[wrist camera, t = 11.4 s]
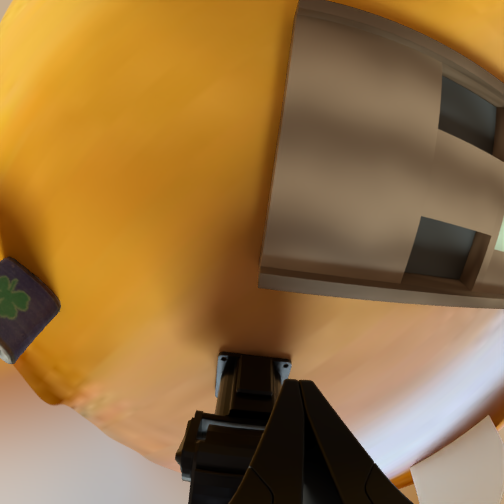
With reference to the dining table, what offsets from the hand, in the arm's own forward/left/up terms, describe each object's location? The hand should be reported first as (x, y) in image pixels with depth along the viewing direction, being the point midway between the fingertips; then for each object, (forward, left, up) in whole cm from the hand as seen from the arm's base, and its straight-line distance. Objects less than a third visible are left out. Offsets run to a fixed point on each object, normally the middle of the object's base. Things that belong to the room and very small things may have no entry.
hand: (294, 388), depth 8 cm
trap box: (+7, -13, -13) cm, 20 cm away
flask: (-8, +24, -13) cm, 29 cm away
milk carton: (-40, -48, -13) cm, 64 cm away
